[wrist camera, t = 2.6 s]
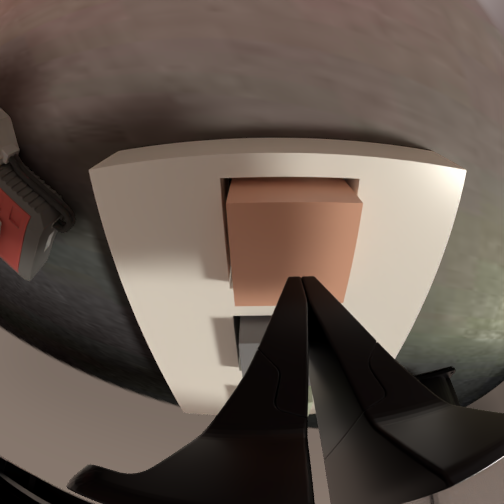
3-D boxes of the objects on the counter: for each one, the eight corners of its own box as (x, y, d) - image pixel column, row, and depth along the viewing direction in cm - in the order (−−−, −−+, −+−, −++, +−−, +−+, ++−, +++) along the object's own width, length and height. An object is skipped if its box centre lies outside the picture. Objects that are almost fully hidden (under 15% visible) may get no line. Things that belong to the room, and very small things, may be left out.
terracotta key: (336, 170, 12) (363, 202, 9) (327, 255, 14) (343, 303, 11) (233, 170, 12) (225, 203, 9) (239, 257, 14) (235, 306, 11)
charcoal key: (321, 292, 15) (333, 340, 13) (312, 341, 18) (319, 385, 15) (241, 294, 16) (238, 343, 13) (245, 343, 18) (243, 388, 15)
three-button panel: (433, 151, 12) (466, 170, 9) (357, 380, 23) (364, 407, 21) (118, 150, 12) (88, 169, 10) (188, 385, 24) (184, 412, 21)
